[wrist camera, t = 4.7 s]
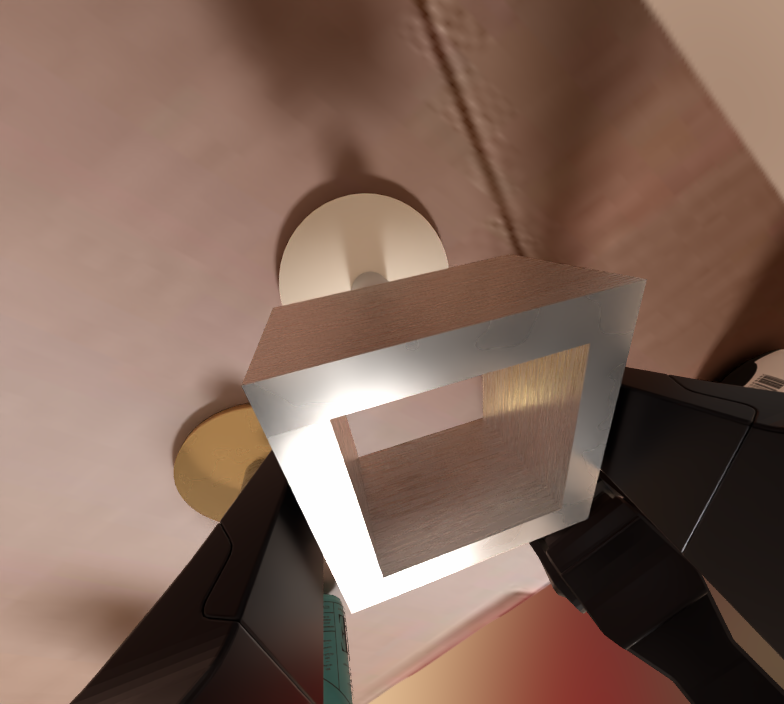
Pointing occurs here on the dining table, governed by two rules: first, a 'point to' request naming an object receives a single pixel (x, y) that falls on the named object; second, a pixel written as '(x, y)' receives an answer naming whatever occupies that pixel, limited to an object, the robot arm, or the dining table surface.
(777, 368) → the milk container
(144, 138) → the dining table surface
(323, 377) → the collar
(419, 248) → the stand
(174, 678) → the robot arm
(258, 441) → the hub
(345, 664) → the beverage bottle
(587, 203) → the dining table surface
